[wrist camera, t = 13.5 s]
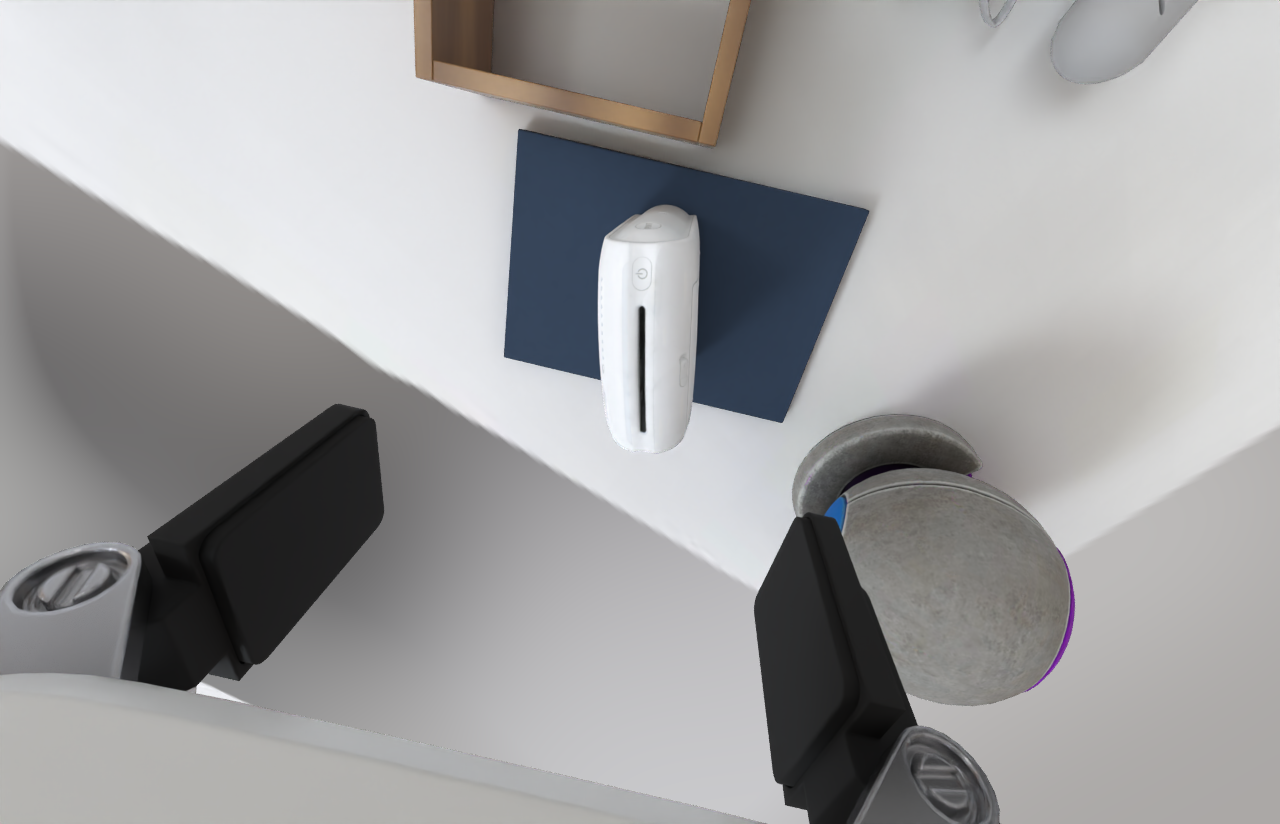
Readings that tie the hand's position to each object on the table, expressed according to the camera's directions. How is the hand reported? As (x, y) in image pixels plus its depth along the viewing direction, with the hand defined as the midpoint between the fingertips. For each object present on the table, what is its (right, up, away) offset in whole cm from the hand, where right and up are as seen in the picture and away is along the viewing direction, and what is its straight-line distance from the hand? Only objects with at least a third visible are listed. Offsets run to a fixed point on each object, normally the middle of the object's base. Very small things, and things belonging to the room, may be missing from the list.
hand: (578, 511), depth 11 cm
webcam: (+19, -4, +25) cm, 32 cm away
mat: (+3, +10, +20) cm, 23 cm away
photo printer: (+3, +10, +19) cm, 22 cm away
